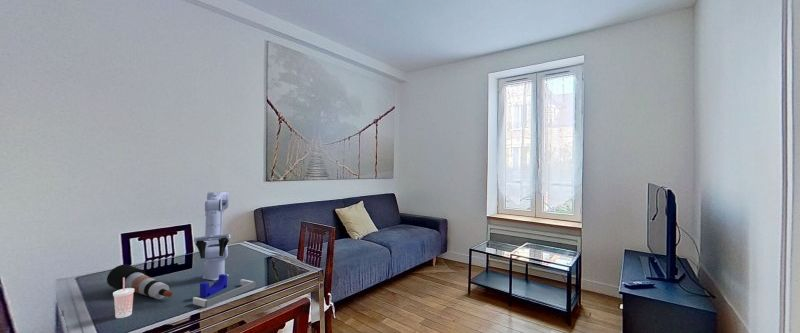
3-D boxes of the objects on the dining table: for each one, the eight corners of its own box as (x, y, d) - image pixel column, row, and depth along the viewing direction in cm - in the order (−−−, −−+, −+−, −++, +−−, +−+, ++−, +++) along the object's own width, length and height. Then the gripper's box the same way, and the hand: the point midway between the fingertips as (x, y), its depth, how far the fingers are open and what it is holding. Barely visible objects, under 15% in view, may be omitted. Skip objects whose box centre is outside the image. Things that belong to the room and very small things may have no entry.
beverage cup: (138, 312, 119) (138, 275, 119) (120, 320, 113) (120, 281, 113) (126, 310, 120) (126, 274, 120) (108, 318, 114) (108, 279, 114)
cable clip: (218, 286, 145) (218, 273, 145) (227, 287, 144) (227, 274, 144) (196, 297, 133) (196, 283, 133) (206, 298, 132) (206, 284, 132)
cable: (163, 313, 128) (152, 295, 123) (113, 292, 140) (102, 275, 136) (186, 293, 136) (176, 276, 132) (137, 275, 149) (127, 259, 144)
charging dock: (192, 304, 126) (192, 297, 126) (242, 284, 147) (242, 279, 147) (206, 307, 123) (206, 301, 123) (255, 287, 144) (255, 281, 144)
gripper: (190, 227, 136) (189, 259, 133) (226, 223, 138) (225, 255, 135) (199, 228, 143) (197, 259, 140) (232, 224, 145) (232, 255, 142)
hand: (212, 257), depth 138 cm, fingers open, 7 cm apart
